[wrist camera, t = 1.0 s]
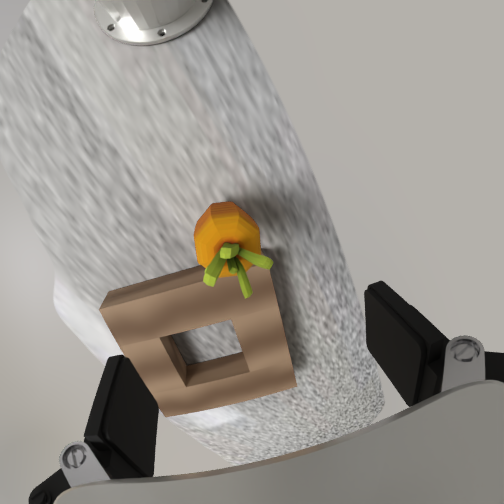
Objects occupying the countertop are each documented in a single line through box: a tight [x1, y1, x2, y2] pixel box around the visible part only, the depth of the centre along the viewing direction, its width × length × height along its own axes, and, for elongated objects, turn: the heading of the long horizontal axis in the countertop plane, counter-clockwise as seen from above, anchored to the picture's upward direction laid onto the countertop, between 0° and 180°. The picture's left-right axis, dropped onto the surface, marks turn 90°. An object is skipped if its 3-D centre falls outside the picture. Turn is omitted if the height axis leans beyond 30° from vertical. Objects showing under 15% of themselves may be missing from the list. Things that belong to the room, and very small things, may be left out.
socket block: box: [99, 250, 297, 417], centre depth 34 cm, size 18×18×4 cm
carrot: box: [194, 202, 273, 299], centre depth 24 cm, size 5×5×15 cm
